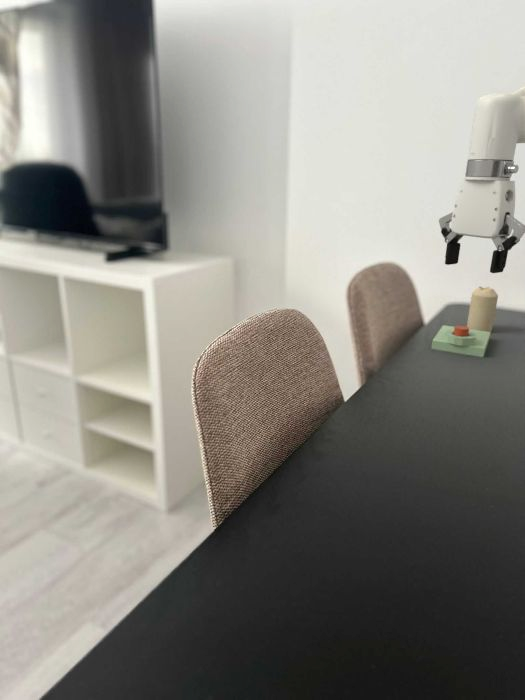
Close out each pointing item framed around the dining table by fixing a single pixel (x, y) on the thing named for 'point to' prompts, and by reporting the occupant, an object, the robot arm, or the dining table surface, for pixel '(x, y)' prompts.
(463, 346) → the green stand
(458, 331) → the power button
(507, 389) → the dining table surface
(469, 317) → the candle
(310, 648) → the dining table surface
